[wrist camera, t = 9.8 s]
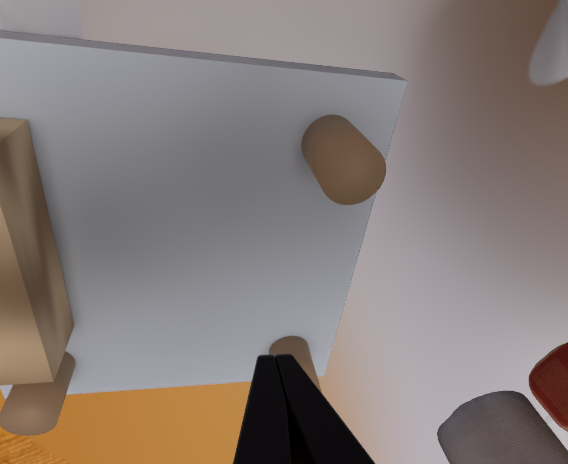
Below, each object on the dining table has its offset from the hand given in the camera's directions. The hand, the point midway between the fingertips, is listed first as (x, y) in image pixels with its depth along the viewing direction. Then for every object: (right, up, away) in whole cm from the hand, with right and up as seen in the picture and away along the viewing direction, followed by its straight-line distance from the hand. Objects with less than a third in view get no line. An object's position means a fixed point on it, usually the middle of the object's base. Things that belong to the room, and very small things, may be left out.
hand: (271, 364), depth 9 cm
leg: (-12, +3, +8) cm, 14 cm away
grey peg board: (-6, +2, +12) cm, 13 cm away
